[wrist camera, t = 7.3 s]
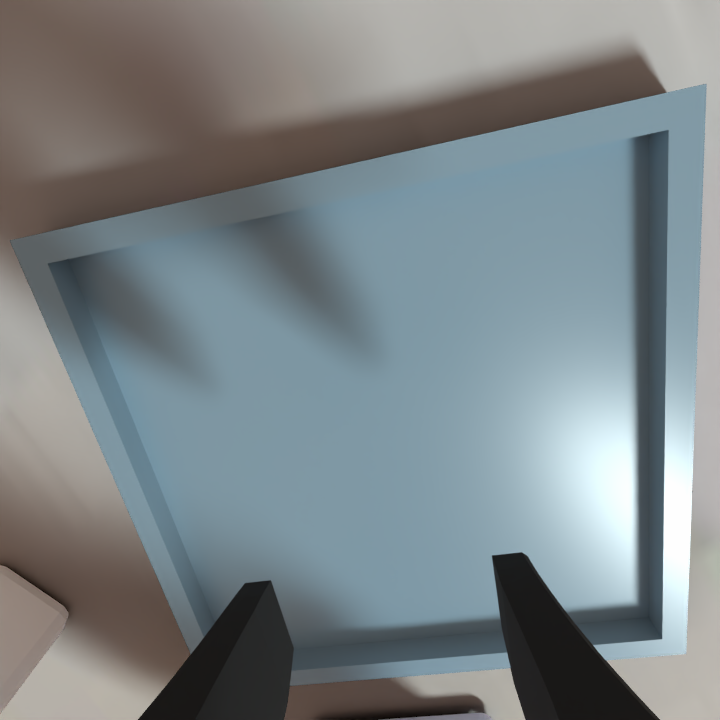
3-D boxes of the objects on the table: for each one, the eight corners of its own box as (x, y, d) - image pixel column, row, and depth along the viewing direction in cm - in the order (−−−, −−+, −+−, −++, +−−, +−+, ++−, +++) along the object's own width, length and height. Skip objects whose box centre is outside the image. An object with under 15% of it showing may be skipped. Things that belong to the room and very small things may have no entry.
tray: (662, 617, 18) (686, 653, 17) (220, 657, 20) (207, 692, 19) (670, 95, 12) (706, 83, 11) (46, 235, 14) (9, 240, 13)
